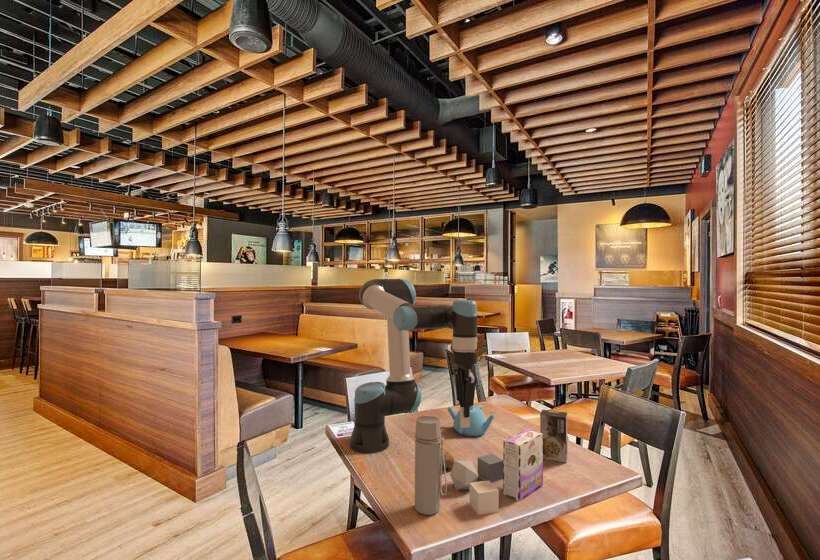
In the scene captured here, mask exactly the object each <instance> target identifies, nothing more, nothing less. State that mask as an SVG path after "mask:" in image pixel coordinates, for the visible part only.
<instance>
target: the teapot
mask: <svg viewBox="0 0 820 560" xmlns="http://www.w3.org/2000/svg"><path fill="white" fill-rule="evenodd" d="M447 412H448V413H449V414H450V416H451V418H452V419H453V423H452V424H453V425H452V426H453V429H454V431H456V433H457V434H459V435H461V436H466V437H472V436H474V437H481V436H482V435H484V434H485V433H486V432H487V431H488V429H489V428H490V426H491V424H492V422H493V420H494V418H495V416H496V415H495V414H489V416H488V418H486V416H485V414H484V412H483V406H482V405H481V404H478V405H476V406H475V405H474V404H473V406H470V427H467V428H461V427H460V409H459V410H458V411H457V413H456V411H455V410H454V408H453V406H450V407H448V408H447ZM480 435H481V436H480Z"/></svg>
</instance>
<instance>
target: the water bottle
mask: <svg viewBox="0 0 820 560" xmlns="http://www.w3.org/2000/svg"><path fill="white" fill-rule="evenodd" d="M415 423H416V424H415V433H414V438H415V439H414V447H415V448H414V456H415V457H414V509H415V510H416V512H418V513H420V514H421V515H425V516H432V515H436V513H437V512H439V511H440V509H441V496H446V495H447V489H448V481H447V472H446V470H445V460H444V451H443V449H444V444H445V443H444V442H445V438H444V436H443V435H441V434H442V432H441V420H440V418H438V416H433V415H423V416H419V417H417V418H416V421H415ZM440 448H442V450H441V473H440ZM442 451H443V462H444V472H445V473H444V480H445V481H444V482H445V492H444V493H443V490H442V479H443V477H442V476H443V474H442Z"/></svg>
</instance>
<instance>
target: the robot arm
mask: <svg viewBox="0 0 820 560" xmlns="http://www.w3.org/2000/svg"><path fill="white" fill-rule="evenodd" d="M358 298H359V301H360V303H361V304H362V305H363V306H364V307H365V308H367V309H368V310H371V311H373V310H376V311H377V312H379V313H381V314H383V315H384V316H386V321H387V323H386V324H387V327H386V328H387V345H388V348H387V349H388V364H389V365H388V367H389V368H388V369H389V376H388V377H387V378H386V380H385V382H386V384H385V383H384V382H381V381H370V382H366V383H362V384H360V385H359V386H358V387H357V388H355V391H354V398H353V401H354V423H353V424H354V425H353V429H352V433H351V434H350V435H351V436H350V437H349V438H350V439H349V448H350V449H351V450H352V451H353V452H356V453H360V454H361V453H362V454H374V453H380V452H383V451H385V450H387V448H389V446H390V437H389V434H388V430H387V428H386V425H385V423H386V420H385V417H390V416H395V415H401V414H409V413H412V412H415V411H416V410H417V409H419V406H420V405H421V402H422V389H421V386H420V383H418V382H417V381H416V379H415V377H414V376H413V375H412V371H411V353H410V352H411V350H410V336H409V335H410V334H409V333H410V331H420V330H436V329H437V330H438V329H450V330H452V340H451V341H452V342H451V343H452V345H451V347H452V350H453V351H452V362H453V363H454V364H456V368H455V369H453V374H454V381H455V392H456V394H455V396H456V401H457V402H458V404H459V410H460V427H461V428H467V427H470V406H473V405H474V402H475V393H476V384H477V381H478V378H477V376H474V368H473V365H475V364H477V363H478V351H477V348H478V341H479V339H478V316H479V313H478V304H477V301H476V300H470V299H469V300H468V299H460V300H459V299H457V300H453V302H452V305H447V304H438V305H415V304H416V301H417V293H416V289H415V286H414V284H413V283H412V282H411V281H410V280H408V279H405V278H404V279H403V278H373V279H370V280H368V281H366V282H365V283H363V284H362V286H361V287H360V289H359V293H358Z"/></svg>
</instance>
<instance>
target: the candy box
mask: <svg viewBox="0 0 820 560" xmlns="http://www.w3.org/2000/svg"><path fill="white" fill-rule="evenodd" d="M502 457H503V459H502V460H503V479H502V484H503V485H502V494H503V495H505V496H507V497H509V498H511V499H513V500H515V501H517V502H520V501H522V500H523V499H525V498H526V497H528V496H529V495H531V494H532V493H533V492H535V491H537V490H538V489H539V488H541V487H542V486H543V485H544V459H543V434H542V433H540V431H539V432H538V431H534V430H532V429H529V428H527V429H524V430H523V431H520V432H519V433H517V434H514V435H512V436H510V437H509V438H506V439H503V456H502Z"/></svg>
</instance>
